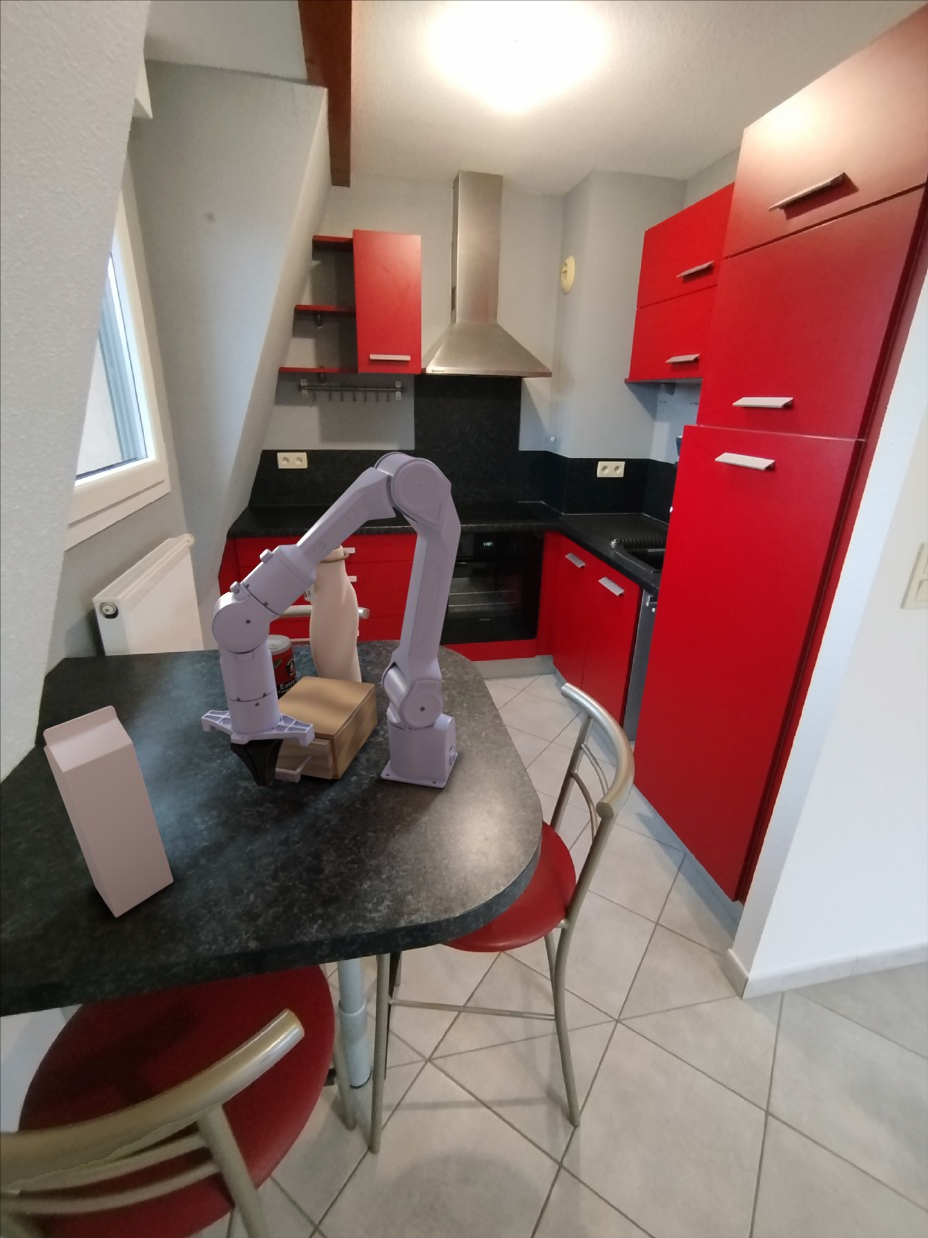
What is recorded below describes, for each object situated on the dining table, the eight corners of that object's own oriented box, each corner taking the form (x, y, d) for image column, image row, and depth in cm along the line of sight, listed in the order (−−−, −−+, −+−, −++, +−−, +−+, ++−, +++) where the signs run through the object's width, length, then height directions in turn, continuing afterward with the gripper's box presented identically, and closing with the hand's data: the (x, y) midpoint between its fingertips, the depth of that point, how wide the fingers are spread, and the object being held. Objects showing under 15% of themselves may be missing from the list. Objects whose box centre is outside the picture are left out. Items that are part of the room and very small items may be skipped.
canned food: (286, 711, 93) (277, 654, 88) (245, 706, 94) (234, 650, 90) (306, 689, 100) (299, 636, 95) (268, 685, 101) (259, 632, 97)
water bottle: (338, 703, 95) (320, 551, 84) (302, 690, 99) (281, 544, 88) (374, 678, 103) (363, 537, 92) (339, 668, 107) (324, 532, 97)
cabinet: (339, 779, 76) (333, 734, 73) (260, 767, 78) (252, 723, 76) (378, 723, 89) (374, 683, 86) (309, 714, 92) (304, 675, 89)
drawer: (313, 803, 70) (308, 767, 68) (237, 790, 73) (230, 755, 70) (368, 726, 87) (366, 695, 84) (305, 717, 89) (301, 687, 87)
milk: (174, 882, 60) (126, 715, 51) (115, 920, 55) (52, 744, 47) (151, 855, 63) (103, 694, 55) (94, 888, 59) (32, 719, 51)
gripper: (176, 699, 62) (197, 793, 67) (287, 714, 59) (301, 811, 64) (215, 672, 69) (232, 760, 73) (317, 684, 65) (328, 775, 70)
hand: (266, 781), depth 69 cm, fingers closed, pressing on drawer
